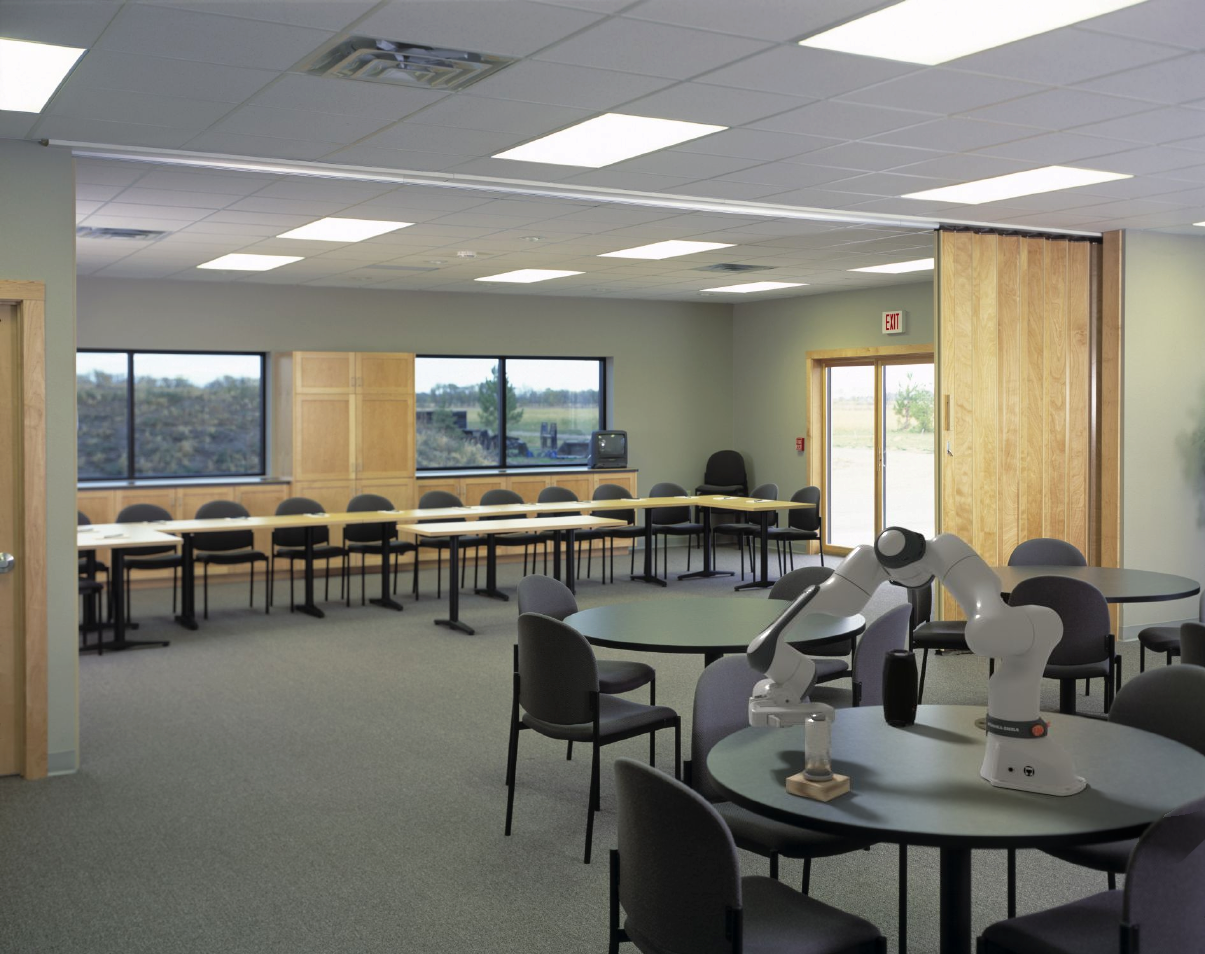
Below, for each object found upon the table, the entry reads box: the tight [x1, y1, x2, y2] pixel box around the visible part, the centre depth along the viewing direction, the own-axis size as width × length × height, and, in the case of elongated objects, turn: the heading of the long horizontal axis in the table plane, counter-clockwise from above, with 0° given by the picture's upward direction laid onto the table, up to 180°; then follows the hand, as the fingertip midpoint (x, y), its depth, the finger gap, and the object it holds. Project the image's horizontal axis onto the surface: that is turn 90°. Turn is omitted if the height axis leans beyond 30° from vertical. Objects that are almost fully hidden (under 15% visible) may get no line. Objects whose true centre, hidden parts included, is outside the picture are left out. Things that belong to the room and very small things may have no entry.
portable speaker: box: [881, 648, 919, 728], centre depth 309 cm, size 9×9×20 cm
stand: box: [785, 771, 851, 803], centre depth 253 cm, size 10×10×3 cm
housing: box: [802, 713, 834, 782], centre depth 253 cm, size 7×7×14 cm
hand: (801, 723), depth 264 cm, fingers open, 8 cm apart
